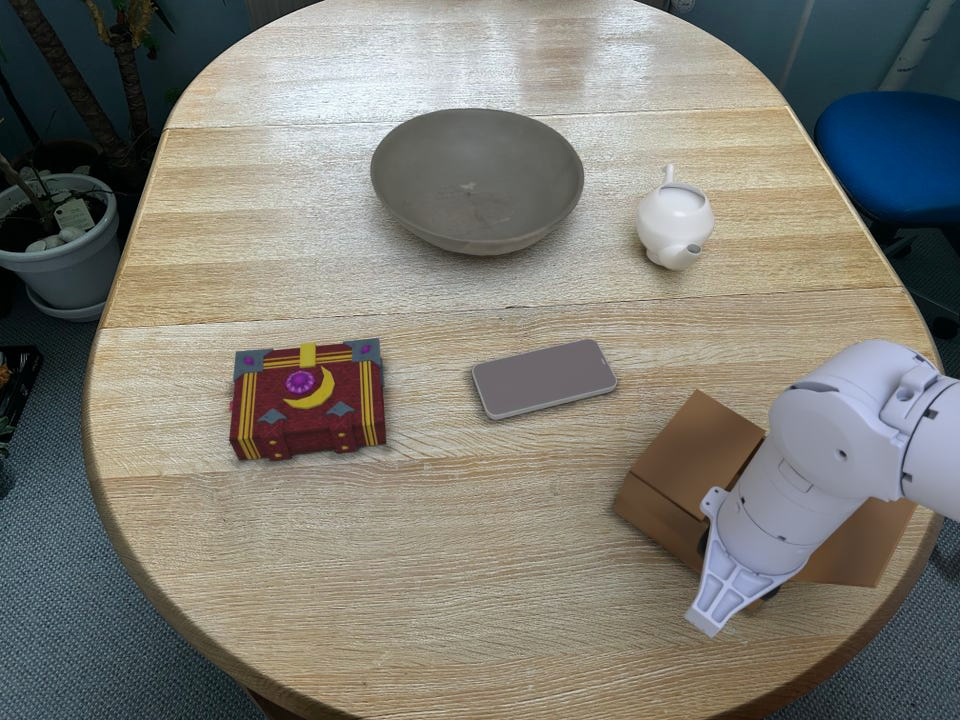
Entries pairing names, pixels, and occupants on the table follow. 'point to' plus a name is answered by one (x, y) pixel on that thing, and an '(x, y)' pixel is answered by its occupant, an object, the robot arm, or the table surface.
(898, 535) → the flap
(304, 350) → the decorative book
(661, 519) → the carton
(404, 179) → the bowl
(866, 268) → the table surface
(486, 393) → the smartphone
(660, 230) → the teapot
